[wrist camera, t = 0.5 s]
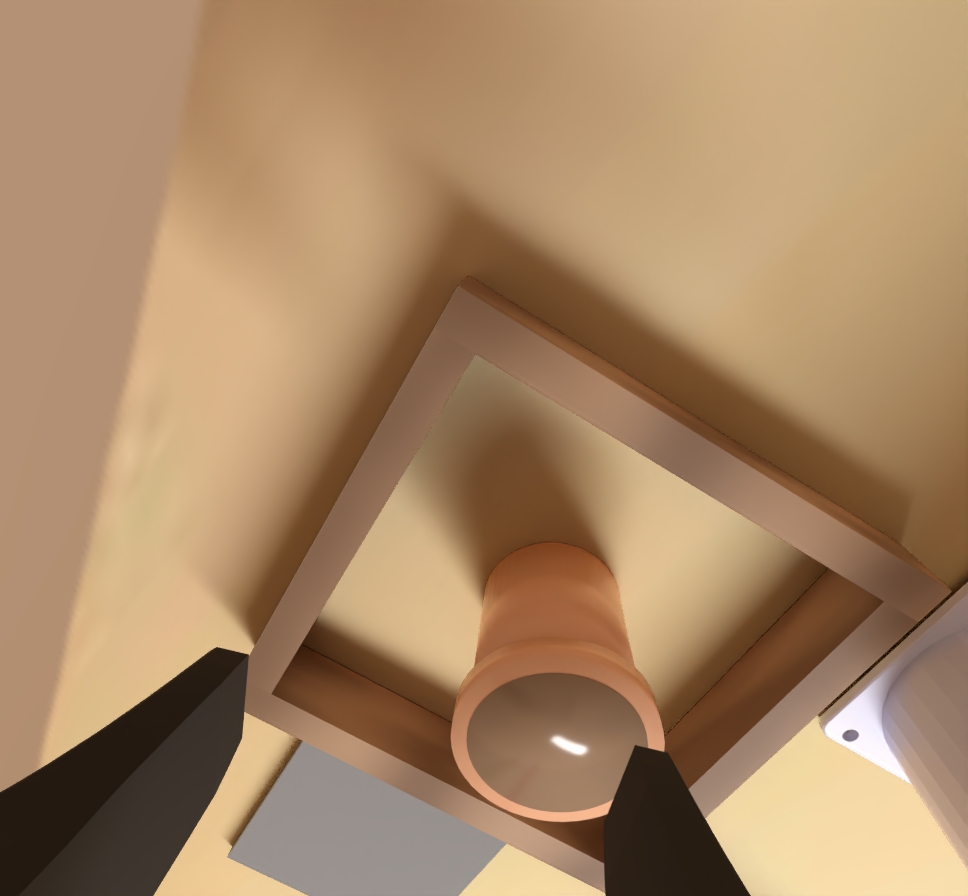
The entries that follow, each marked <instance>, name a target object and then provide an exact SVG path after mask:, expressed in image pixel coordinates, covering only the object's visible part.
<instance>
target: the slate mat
mask: <svg viewBox="0 0 968 896" xmlns="http://www.w3.org/2000/svg"><path fill="white" fill-rule="evenodd" d="M506 844H507V843H505V842H503V841H501V840H499V839H497V838H495V837H493V836H491V835H489V834H487V833H485V832H483V831H481V830H479V829H477V828H475V827H473V826H471V825H469V824H467V823H465V822H463V821H461V820H459V819H457V818H455V817H453V816H451V815H449V814H447V813H445V812H443V811H441V810H439V809H437V808H435V807H433V806H431V805H429V804H427V803H425V802H423V801H421V800H419V799H417V798H415V797H413V796H411V795H409V794H407V793H405V792H403V791H401V790H399V789H397V788H395V787H393V786H391V785H389V784H387V783H385V782H384V781H382V780H380V779H378V778H376V777H374V776H372V775H370V774H368V773H366V772H364V771H362V770H360V769H358V768H356V767H354V766H352V765H350V764H348V763H346V762H344V761H342V760H340V759H338V758H336V757H334V756H332V755H330V754H328V753H326V752H324V751H322V750H320V749H318V748H316V747H314V746H312V745H310V744H308V743H306V742H304V741H301V743H300V744H299V746H298V747H297V749H296V750H295V752H294V753H293V755H292V756H291V758H290V759H289V761H288V763H287V764H286V766H285V767H284V769H283V770H282V772H281V773H280V775H279V776H278V778H277V779H276V781H275V782H274V784H273V786H272V787H271V789H270V790H269V792H268V793H267V795H266V796H265V798H264V799H263V801H262V802H261V804H260V805H259V807H258V808H257V810H256V812H255V813H254V815H253V816H252V818H251V819H250V821H249V822H248V824H247V825H246V827H245V828H244V830H243V831H242V833H241V835H240V836H239V838H238V839H237V841H236V842H235V844H234V845H233V847H232V848H231V850H230V853H229V855H228V858H230V859H232V860H234V861H236V862H239V863H241V864H243V865H245V866H247V867H249V868H251V869H253V870H256V871H258V872H260V873H262V874H264V875H266V876H268V877H270V878H273V879H275V880H277V881H279V882H281V883H283V884H285V885H287V886H290V887H292V888H294V889H296V890H298V891H300V892H302V893H304V894H307V895H309V896H459V895H460V893H461V892H462V891H463V890H464V889H465V888H466V887H467V886H468V885H469V884H470V883H471V882H472V880H473V879H474V878H475V877H476V876H477V875H478V874H479V873H480V872H481V871H482V870H483V868H484V867H485V866H486V865H487V864H488V863H489V862H490V861H491V860H492V859H493V858H494V857H495V855H496V854H497V853H498V852H499V851H500V850H501V849H502V848H503V847H504V846H505V845H506Z"/></svg>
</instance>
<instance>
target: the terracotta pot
mask: <svg viewBox="0 0 968 896" xmlns="http://www.w3.org/2000/svg"><path fill="white" fill-rule="evenodd" d="M635 745H638V746H642V747H646V748H650V749H655V750H659V751H663V752H664V747H665V740H664V731H663V727H662V723H661V719H660V715H659V711H658V706H657V703H656V699H655V696H654V694H653V692H652V690H651V688H650V686H649V684H648V683H647V681H646V680H645V678H644V677H643V676H642V674H641V673H640V672H639V671H638V670H637V669H636V668H635V666H634V662H633V657H632V652H631V647H630V643H629V638H628V633H627V629H626V624H625V619H624V614H623V610H622V605H621V600H620V596H619V591H618V587H617V584H616V581H615V579H614V577H613V575H612V574H611V572H610V571H609V569H608V568H607V567H606V566H605V565H604V563H603V562H601V561H600V560H599V559H598V558H597V557H595V556H594V555H592V554H591V553H589V552H587V551H585V550H583V549H581V548H579V547H576V546H573V545H569V544H564V543H556V542H545V543H537V544H533V545H529V546H526V547H523V548H520V549H518V550H516V551H514V552H512V553H511V554H509V555H508V556H507V557H505V558H504V559H503V560H502V561H501V562H500V563H499V564H498V565H497V566H496V567H495V568H494V570H493V571H492V573H491V575H490V577H489V579H488V581H487V584H486V588H485V594H484V601H483V608H482V615H481V622H480V629H479V637H478V644H477V651H476V658H475V665H474V668H473V669H472V670H471V671H470V672H469V673H468V675H467V676H466V678H465V679H464V681H463V683H462V685H461V687H460V689H459V692H458V695H457V699H456V703H455V709H454V715H453V721H452V727H451V747H452V751H453V755H454V758H455V761H456V763H457V765H458V768H459V769H460V771H461V773H462V774H463V776H464V777H465V779H466V780H467V781H468V782H469V783H470V785H471V786H472V787H473V788H474V789H475V790H477V791H478V792H479V793H480V794H481V795H482V796H484V797H485V798H486V799H488V800H489V801H491V802H492V803H494V804H496V805H497V806H499V807H501V808H503V809H505V810H508V811H510V812H512V813H515V814H518V815H521V816H524V817H528V818H532V819H537V820H544V821H554V822H570V821H581V820H587V819H592V818H596V817H600V816H603V815H606V814H608V811H609V809H610V806H611V804H612V801H613V799H614V796H615V794H616V791H617V789H618V786H619V784H620V781H621V779H622V776H623V774H624V771H625V769H626V766H627V764H628V761H629V759H630V756H631V754H632V751H633V749H634V746H635Z"/></svg>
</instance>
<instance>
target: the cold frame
mask: <svg viewBox="0 0 968 896" xmlns="http://www.w3.org/2000/svg"><path fill="white" fill-rule="evenodd" d="M475 354H477V355H478V356H480V357H482V358H483V359H485V360H487V361H488V362H490V363H492V364H493V365H495V366H497V367H498V368H500V369H502V370H503V371H505V372H506V373H508V374H510V375H511V376H513V377H515V378H516V379H518V380H520V381H521V382H523V383H525V384H526V385H528V386H530V387H531V388H533V389H535V390H536V391H538V392H539V393H541V394H543V395H544V396H546V397H548V398H549V399H551V400H553V401H554V402H556V403H558V404H559V405H561V406H563V407H564V408H566V409H567V410H569V411H571V412H572V413H574V414H576V415H577V416H579V417H581V418H582V419H584V420H586V421H587V422H589V423H591V424H592V425H594V426H596V427H597V428H599V429H600V430H602V431H604V432H605V433H607V434H609V435H610V436H612V437H614V438H615V439H617V440H619V441H620V442H622V443H624V444H625V445H627V446H628V447H630V448H632V449H633V450H635V451H637V452H638V453H640V454H642V455H643V456H645V457H647V458H648V459H650V460H652V461H653V462H655V463H657V464H658V465H660V466H661V467H663V468H665V469H666V470H668V471H670V472H671V473H673V474H675V475H676V476H678V477H680V478H681V479H683V480H685V481H686V482H688V483H690V484H691V485H693V486H694V487H696V488H698V489H699V490H701V491H703V492H704V493H706V494H708V495H709V496H711V497H713V498H714V499H716V500H718V501H719V502H721V503H722V504H724V505H726V506H727V507H729V508H731V509H732V510H734V511H736V512H737V513H739V514H741V515H742V516H744V517H746V518H747V519H749V520H751V521H752V522H754V523H755V524H757V525H759V526H760V527H762V528H764V529H765V530H767V531H769V532H770V533H772V534H774V535H775V536H777V537H779V538H780V539H782V540H784V541H785V542H787V543H788V544H790V545H792V546H793V547H795V548H797V549H798V550H800V551H802V552H803V553H805V554H807V555H808V556H810V557H812V558H813V559H815V560H816V561H818V562H820V563H821V564H823V565H825V566H826V567H828V568H829V569H828V570H827V571H826V572H825V573H824V574H823V575H822V576H821V577H820V578H819V579H818V580H817V581H816V582H815V583H814V584H813V585H812V586H811V587H810V588H809V589H808V590H807V591H806V592H805V593H804V594H803V595H802V596H801V597H800V598H799V599H798V601H797V602H796V603H795V604H794V605H793V606H792V607H791V608H790V609H789V610H788V611H787V612H786V613H785V614H784V615H783V616H782V617H781V618H780V619H779V620H778V621H777V622H776V623H775V624H774V625H773V626H772V627H771V628H770V629H769V630H768V631H767V632H766V633H765V634H764V635H763V636H762V637H761V638H760V639H759V641H758V642H757V643H756V644H755V645H754V646H753V647H752V648H751V649H750V650H749V651H748V652H747V653H746V654H745V655H744V656H743V657H742V658H741V659H740V660H739V661H738V662H737V663H736V664H735V665H734V666H733V667H732V668H731V669H730V670H729V671H728V672H727V673H726V674H725V675H724V676H723V677H722V678H721V680H720V681H719V682H718V683H717V684H716V685H715V686H714V687H713V688H712V689H711V690H710V691H709V692H708V693H707V694H706V695H705V696H704V697H703V698H702V699H701V700H700V701H699V702H698V703H697V704H696V705H695V706H694V707H693V708H692V709H691V710H690V711H689V712H688V713H687V714H686V715H685V716H684V717H683V719H682V720H681V721H680V722H679V723H678V724H677V725H676V726H675V727H674V728H673V729H672V730H671V731H670V732H669V733H668V734H667V735H666V736H665V737H664V740H665V747H664V752H667V753H669V755H670V757H671V758H672V760H673V762H674V764H675V765H676V767H677V769H678V771H679V773H680V774H681V776H682V778H683V780H684V782H685V784H686V785H687V787H688V789H689V791H690V793H691V794H692V796H693V798H694V800H695V802H696V803H697V805H698V807H699V809H700V811H701V812H702V814H703V816H704V818H706V817H707V816H708V815H709V814H710V813H711V812H712V811H713V810H714V809H716V808H717V807H718V806H719V805H720V804H721V803H722V802H723V801H724V800H725V799H726V798H728V797H729V796H730V795H731V794H732V793H733V792H734V791H735V790H736V789H737V788H738V787H740V786H741V785H742V784H743V783H744V782H745V781H746V780H747V779H748V778H749V777H750V776H752V775H753V774H754V773H755V772H756V771H757V770H758V769H759V768H760V767H761V766H762V765H764V764H765V763H766V762H767V761H768V760H769V759H770V758H771V757H772V756H773V755H774V754H776V753H777V752H778V751H779V750H780V749H781V748H782V747H783V746H784V745H785V744H786V743H788V742H789V741H790V740H791V739H792V738H793V737H794V736H795V735H796V734H797V733H798V732H799V731H801V730H802V729H803V728H804V727H805V726H806V725H807V724H808V723H809V722H810V721H811V720H813V719H814V718H815V717H816V716H817V715H818V714H819V713H820V712H821V711H822V710H823V709H825V708H826V707H827V706H828V705H829V704H830V703H831V702H832V701H833V700H834V699H835V698H837V697H838V696H839V695H840V694H841V693H842V692H843V691H844V690H845V689H846V688H847V687H849V686H850V685H851V684H852V683H853V682H854V681H855V680H856V679H857V678H858V677H859V676H861V675H862V674H863V673H864V672H865V671H866V670H867V669H868V668H869V667H870V666H871V665H873V664H874V663H875V662H876V661H877V660H878V659H879V658H880V657H881V656H882V655H883V654H885V653H886V652H887V651H888V650H889V649H890V648H891V647H892V646H893V645H894V644H895V643H896V642H898V641H899V640H900V639H901V638H902V637H903V636H904V635H905V634H906V633H907V632H908V631H910V630H911V629H912V628H913V627H914V626H915V625H916V624H917V623H918V622H919V621H920V620H922V619H923V618H924V617H925V616H926V615H927V614H928V613H929V612H930V611H931V610H932V609H934V608H935V607H936V606H937V605H938V604H939V603H940V602H941V601H942V600H943V599H944V598H946V597H947V596H948V595H949V594H950V593H951V592H952V591H951V590H950V589H949V588H948V587H947V586H946V585H945V584H943V583H942V582H941V581H940V580H939V579H938V578H937V577H936V576H935V575H934V574H933V573H931V572H930V571H929V570H928V569H927V568H926V567H925V566H924V565H923V564H922V563H921V562H919V561H918V560H917V559H916V558H915V557H914V556H913V555H912V554H911V553H910V552H909V551H907V550H906V549H905V548H904V547H903V546H902V545H901V544H899V543H898V542H896V541H894V540H893V539H891V538H890V537H888V536H886V535H885V534H883V533H881V532H880V531H878V530H877V529H875V528H873V527H872V526H870V525H869V524H867V523H865V522H864V521H862V520H861V519H859V518H857V517H856V516H854V515H853V514H851V513H849V512H848V511H846V510H845V509H843V508H841V507H840V506H838V505H837V504H835V503H833V502H832V501H830V500H828V499H827V498H825V497H824V496H822V495H820V494H819V493H817V492H816V491H814V490H812V489H811V488H809V487H808V486H806V485H804V484H803V483H801V482H800V481H798V480H796V479H795V478H793V477H792V476H790V475H788V474H787V473H785V472H784V471H782V470H780V469H779V468H777V467H775V466H774V465H772V464H771V463H769V462H767V461H766V460H764V459H763V458H761V457H759V456H758V455H756V454H755V453H753V452H751V451H750V450H748V449H747V448H745V447H743V446H742V445H740V444H739V443H737V442H735V441H734V440H732V439H731V438H729V437H727V436H726V435H724V434H722V433H721V432H719V431H718V430H716V429H714V428H713V427H711V426H710V425H708V424H706V423H705V422H703V421H702V420H700V419H698V418H697V417H695V416H694V415H692V414H690V413H689V412H687V411H686V410H684V409H682V408H681V407H679V406H678V405H676V404H674V403H673V402H671V401H669V400H668V399H666V398H665V397H663V396H661V395H660V394H658V393H657V392H655V391H653V390H652V389H650V388H649V387H647V386H645V385H644V384H642V383H641V382H639V381H637V380H636V379H634V378H633V377H631V376H629V375H628V374H626V373H625V372H623V371H621V370H620V369H618V368H616V367H615V366H613V365H612V364H610V363H608V362H607V361H605V360H604V359H602V358H600V357H599V356H597V355H596V354H594V353H592V352H591V351H589V350H588V349H586V348H584V347H583V346H581V345H580V344H578V343H576V342H575V341H573V340H572V339H570V338H568V337H567V336H565V335H563V334H562V333H560V332H559V331H557V330H555V329H554V328H552V327H551V326H549V325H547V324H546V323H544V322H543V321H541V320H539V319H538V318H536V317H535V316H533V315H531V314H530V313H528V312H527V311H525V310H523V309H522V308H520V307H519V306H517V305H515V304H514V303H512V302H510V301H509V300H507V299H506V298H504V297H502V296H501V295H499V294H498V293H496V292H494V291H493V290H491V289H490V288H488V287H486V286H485V285H483V284H482V283H480V282H478V281H477V280H475V279H474V278H472V277H470V276H468V277H466V278H465V279H464V280H463V281H462V282H461V283H460V284H459V285H458V286H457V288H456V289H455V291H454V293H453V295H452V296H451V298H450V300H449V302H448V304H447V305H446V307H445V309H444V311H443V312H442V314H441V316H440V318H439V320H438V321H437V323H436V325H435V327H434V328H433V330H432V332H431V334H430V336H429V337H428V339H427V341H426V343H425V344H424V346H423V348H422V350H421V352H420V353H419V355H418V357H417V359H416V360H415V362H414V364H413V366H412V368H411V369H410V371H409V373H408V375H407V376H406V378H405V380H404V382H403V384H402V385H401V387H400V389H399V391H398V392H397V394H396V396H395V398H394V400H393V401H392V403H391V405H390V407H389V408H388V410H387V412H386V414H385V416H384V417H383V419H382V421H381V423H380V424H379V426H378V428H377V430H376V432H375V433H374V435H373V437H372V439H371V440H370V442H369V444H368V446H367V448H366V449H365V451H364V453H363V455H362V456H361V458H360V460H359V462H358V464H357V465H356V467H355V469H354V471H353V472H352V474H351V476H350V478H349V480H348V481H347V483H346V485H345V487H344V488H343V490H342V492H341V494H340V495H339V497H338V499H337V501H336V503H335V504H334V506H333V508H332V510H331V511H330V513H329V515H328V517H327V519H326V520H325V522H324V524H323V526H322V527H321V529H320V531H319V533H318V535H317V536H316V538H315V540H314V542H313V543H312V545H311V547H310V549H309V551H308V552H307V554H306V556H305V558H304V559H303V561H302V563H301V565H300V567H299V568H298V570H297V572H296V574H295V575H294V577H293V579H292V581H291V583H290V584H289V586H288V588H287V590H286V591H285V593H284V595H283V597H282V599H281V600H280V602H279V604H278V606H277V607H276V609H275V611H274V613H273V615H272V616H271V618H270V620H269V622H268V623H267V625H266V627H265V629H264V631H263V632H262V634H261V636H260V638H259V639H258V641H257V643H256V645H255V647H254V648H253V650H252V652H251V654H250V655H249V661H248V673H247V684H246V696H245V708H244V712H246V713H248V714H250V715H252V716H254V717H256V718H258V719H260V720H262V721H264V722H266V723H268V724H270V725H272V726H274V727H276V728H278V729H280V730H282V731H284V732H286V733H288V734H290V735H292V736H294V737H296V738H298V739H300V740H302V741H304V742H306V743H308V744H310V745H312V746H314V747H316V748H318V749H320V750H322V751H324V752H326V753H328V754H330V755H332V756H334V757H336V758H338V759H340V760H342V761H344V762H346V763H348V764H350V765H352V766H354V767H356V768H358V769H360V770H362V771H364V772H366V773H368V774H370V775H372V776H374V777H376V778H378V779H380V780H382V781H384V782H385V783H387V784H389V785H391V786H393V787H395V788H397V789H399V790H401V791H403V792H405V793H407V794H409V795H411V796H413V797H415V798H417V799H419V800H421V801H423V802H425V803H427V804H429V805H431V806H433V807H435V808H437V809H439V810H441V811H443V812H445V813H447V814H449V815H451V816H453V817H455V818H457V819H459V820H461V821H463V822H465V823H467V824H469V825H471V826H473V827H475V828H477V829H479V830H481V831H483V832H485V833H487V834H489V835H491V836H493V837H495V838H497V839H499V840H501V841H503V842H505V843H507V844H509V845H511V846H513V847H515V848H517V849H519V850H521V851H523V852H525V853H527V854H529V855H531V856H533V857H535V858H537V859H539V860H541V861H543V862H545V863H547V864H549V865H551V866H553V867H555V868H557V869H559V870H561V871H563V872H565V873H567V874H569V875H571V876H573V877H575V878H577V879H579V880H581V881H582V882H584V883H586V884H588V885H590V886H592V887H594V888H596V889H598V890H600V891H602V892H604V893H605V879H604V821H605V819H606V816H607V814H606V815H603V816H600V817H596V818H592V819H587V820H581V821H570V822H554V821H544V820H537V819H532V818H528V817H524V816H521V815H518V814H515V813H512V812H510V811H508V810H505V809H503V808H501V807H499V806H497V805H496V804H494V803H492V802H491V801H489V800H488V799H486V798H485V797H484V796H482V795H481V794H480V793H479V792H478V791H477V790H475V789H474V788H473V787H472V786H471V785H470V783H469V782H468V781H467V780H466V779H465V777H464V776H463V774H462V773H461V771H460V769H459V768H458V765H457V763H456V761H455V758H454V755H453V751H452V747H451V727H452V723H450V722H449V721H447V720H445V719H443V718H441V717H439V716H437V715H435V714H433V713H431V712H429V711H427V710H426V709H424V708H422V707H420V706H418V705H416V704H414V703H412V702H410V701H408V700H406V699H405V698H403V697H401V696H399V695H397V694H395V693H393V692H391V691H389V690H387V689H385V688H383V687H382V686H380V685H378V684H376V683H374V682H372V681H370V680H368V679H366V678H364V677H362V676H361V675H359V674H357V673H355V672H353V671H351V670H349V669H347V668H345V667H343V666H341V665H339V664H338V663H336V662H334V661H332V660H330V659H328V658H326V657H324V656H322V655H320V654H318V653H317V652H315V651H313V650H311V649H309V648H307V647H305V646H303V645H301V644H302V642H303V640H304V639H305V637H306V635H307V634H308V632H309V630H310V629H311V627H312V625H313V624H314V622H315V620H316V619H317V617H318V615H319V614H320V612H321V610H322V609H323V607H324V605H325V604H326V602H327V600H328V599H329V597H330V595H331V594H332V592H333V590H334V589H335V587H336V585H337V584H338V582H339V580H340V579H341V577H342V575H343V574H344V572H345V570H346V569H347V567H348V565H349V564H350V562H351V560H352V559H353V557H354V555H355V554H356V552H357V550H358V549H359V547H360V545H361V544H362V542H363V540H364V539H365V537H366V535H367V534H368V532H369V530H370V529H371V527H372V525H373V524H374V522H375V520H376V519H377V517H378V515H379V514H380V512H381V510H382V509H383V507H384V505H385V504H386V502H387V500H388V499H389V497H390V495H391V494H392V492H393V490H394V489H395V487H396V485H397V484H398V482H399V480H400V479H401V477H402V475H403V474H404V472H405V470H406V469H407V467H408V465H409V464H410V462H411V460H412V459H413V457H414V455H415V454H416V452H417V450H418V449H419V447H420V445H421V444H422V442H423V440H424V439H425V437H426V435H427V434H428V432H429V430H430V429H431V427H432V425H433V424H434V422H435V420H436V419H437V417H438V415H439V414H440V412H441V410H442V409H443V407H444V405H445V404H446V402H447V400H448V399H449V397H450V395H451V394H452V392H453V390H454V389H455V387H456V385H457V384H458V382H459V380H460V379H461V377H462V375H463V374H464V372H465V370H466V369H467V367H468V365H469V364H470V362H471V360H472V359H473V357H474V355H475Z"/></svg>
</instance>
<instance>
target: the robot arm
mask: <svg viewBox="0 0 968 896" xmlns="http://www.w3.org/2000/svg"><path fill="white" fill-rule="evenodd" d="M248 661H249V655H248V654H244V653H240V652H235V651H231V650H227V649H222V648H218V647H216V648H214V649H213V650H211V651H209V652H208V653H207V654H205V655H204V656H203V657H201V658H200V659H199V660H197V661H196V662H195V663H193V664H192V665H191V666H189V667H188V668H187V669H185V670H184V671H183V672H181V673H180V674H179V675H177V676H176V677H175V678H173V679H172V680H171V681H169V682H168V683H167V684H165V685H164V686H162V687H161V688H160V689H158V690H157V691H156V692H154V693H153V694H152V695H150V696H149V697H147V698H146V699H145V700H143V701H142V702H140V703H139V704H137V705H136V706H135V707H133V708H132V709H130V710H129V711H127V712H126V713H125V714H123V715H122V716H120V717H119V718H117V719H116V720H115V721H113V722H112V723H110V724H109V725H107V726H106V727H104V728H103V729H101V730H100V731H98V732H97V733H95V734H94V735H92V736H91V737H89V738H88V739H86V740H85V741H83V742H81V743H80V744H78V745H77V746H75V747H74V748H72V749H71V750H69V751H67V752H66V753H64V754H63V755H61V756H60V757H58V758H57V759H55V760H53V761H52V762H50V763H49V764H47V765H46V766H44V767H42V768H41V769H39V770H37V771H36V772H34V773H32V774H31V775H29V776H27V777H26V778H24V779H23V780H21V781H19V782H17V783H16V784H14V785H12V786H10V787H9V788H7V789H5V790H3V791H2V792H0V896H153V895H154V894H155V892H156V890H157V889H158V887H159V885H160V884H161V882H162V881H163V879H164V877H165V876H166V874H167V872H168V871H169V869H170V868H171V866H172V864H173V863H174V861H175V859H176V858H177V856H178V855H179V853H180V851H181V850H182V848H183V846H184V845H185V843H186V842H187V840H188V838H189V837H190V835H191V833H192V832H193V830H194V828H195V827H196V825H197V824H198V822H199V820H200V819H201V817H202V815H203V814H204V812H205V810H206V809H207V807H208V805H209V804H210V802H211V800H212V799H213V797H214V795H215V794H216V792H217V790H218V787H219V785H220V783H221V781H222V779H223V777H224V775H225V773H226V771H227V769H228V767H229V765H230V763H231V761H232V758H233V756H234V754H235V752H236V750H237V748H238V746H239V743H240V741H241V739H242V732H243V720H244V708H245V696H246V684H247V673H248ZM819 725H820V727H821V729H822V731H823V733H824V734H825V735H826V736H827V737H829V738H830V739H832V740H834V741H836V742H837V743H839V744H841V745H843V746H844V747H846V748H848V749H850V750H852V751H853V752H855V753H857V754H859V755H860V756H862V757H864V758H866V759H867V760H869V761H871V762H873V763H874V764H876V765H878V766H880V767H882V768H883V769H885V770H887V771H889V772H890V773H892V774H894V775H896V776H897V777H899V778H901V779H903V780H904V781H906V782H908V783H910V784H912V786H913V787H914V789H915V790H916V792H917V793H918V795H919V796H920V798H921V799H922V801H923V802H924V804H925V805H926V807H927V809H928V810H929V812H930V813H931V815H932V816H933V818H934V819H935V821H936V822H937V824H938V825H939V827H940V828H941V830H942V832H943V833H944V835H945V836H946V838H947V839H948V841H949V842H950V844H951V845H952V847H953V848H954V850H955V851H956V853H957V855H958V856H959V858H960V859H961V861H962V862H963V864H964V865H965V867H966V868H967V870H968V582H967V583H966V584H965V585H964V586H963V587H962V588H960V589H959V590H958V591H957V592H956V593H955V594H954V595H953V596H952V597H951V598H949V599H948V600H947V601H946V602H945V603H944V604H943V605H942V606H941V607H940V608H939V609H937V610H936V611H935V612H934V613H933V614H932V615H931V616H930V617H929V618H928V619H927V620H925V621H924V622H923V623H922V624H921V625H920V626H919V627H918V628H917V629H916V630H914V631H913V632H912V633H911V634H910V635H909V636H908V637H907V638H906V639H905V640H904V641H902V642H901V643H900V644H899V645H898V646H897V647H896V648H895V649H894V650H893V651H892V652H890V653H889V654H888V655H887V656H886V657H885V658H884V659H883V660H882V661H881V662H879V663H878V664H877V665H876V666H875V667H874V668H873V669H872V670H871V671H870V672H869V673H867V674H866V675H865V676H864V677H863V678H862V679H861V680H860V681H859V682H858V683H857V684H855V685H854V686H853V687H852V688H851V689H850V690H849V691H848V692H847V693H846V694H844V695H843V696H842V697H841V698H840V699H839V700H838V701H837V702H836V703H835V704H834V705H832V706H831V707H830V708H829V709H828V710H827V711H826V712H825V713H824V714H823V715H822V716H821V717H820V719H819ZM847 730H850V731H849V732H845V731H847ZM604 879H605V894H606V896H751V895H750V894H749V892H748V891H747V889H746V887H745V886H744V884H743V882H742V881H741V879H740V877H739V876H738V874H737V873H736V871H735V869H734V868H733V866H732V864H731V863H730V861H729V859H728V858H727V856H726V854H725V853H724V851H723V849H722V847H721V846H720V844H719V842H718V841H717V839H716V837H715V835H714V834H713V832H712V830H711V828H710V827H709V825H708V823H707V821H706V820H705V818H704V816H703V814H702V812H701V811H700V809H699V807H698V805H697V803H696V802H695V800H694V798H693V796H692V794H691V793H690V791H689V789H688V787H687V785H686V784H685V782H684V780H683V778H682V776H681V774H680V773H679V771H678V769H677V767H676V765H675V764H674V762H673V760H672V758H671V757H670V755H669V753H667V752H663V751H659V750H655V749H650V748H646V747H642V746H638V745H635V746H634V749H633V751H632V754H631V756H630V759H629V761H628V764H627V766H626V769H625V771H624V774H623V776H622V779H621V781H620V784H619V786H618V789H617V791H616V794H615V796H614V799H613V801H612V804H611V806H610V809H609V811H608V814H607V816H606V819H605V821H604Z"/></svg>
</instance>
